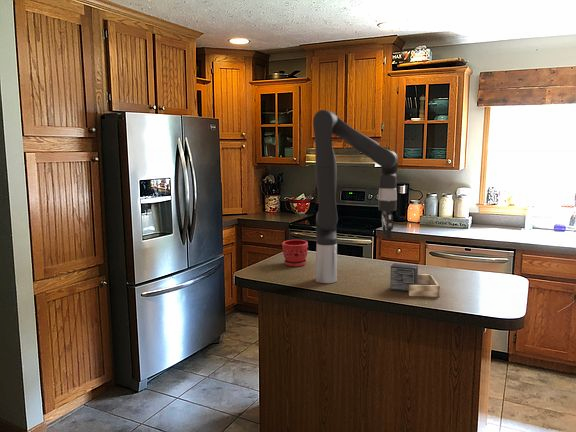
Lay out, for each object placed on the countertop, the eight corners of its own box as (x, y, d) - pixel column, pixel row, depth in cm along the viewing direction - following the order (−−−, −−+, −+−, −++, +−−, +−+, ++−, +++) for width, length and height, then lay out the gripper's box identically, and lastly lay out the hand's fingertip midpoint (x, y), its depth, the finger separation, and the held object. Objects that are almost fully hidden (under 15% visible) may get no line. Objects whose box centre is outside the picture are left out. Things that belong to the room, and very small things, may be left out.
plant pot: (281, 262, 245) (281, 239, 244) (306, 261, 247) (305, 239, 245) (283, 268, 233) (283, 244, 231) (309, 267, 234) (309, 244, 232)
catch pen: (409, 295, 188) (409, 285, 187) (403, 283, 205) (403, 273, 205) (439, 296, 187) (439, 286, 186) (431, 284, 204) (431, 274, 203)
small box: (417, 288, 198) (418, 264, 196) (415, 293, 192) (416, 268, 190) (393, 285, 202) (393, 262, 200) (389, 290, 196) (390, 265, 195)
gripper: (376, 197, 201) (375, 234, 204) (380, 200, 187) (380, 240, 190) (393, 197, 201) (393, 234, 203) (399, 200, 187) (398, 240, 189)
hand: (386, 237), depth 196 cm, fingers open, 8 cm apart
